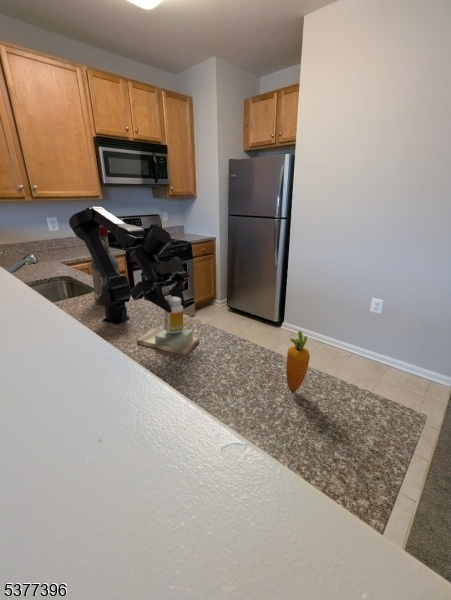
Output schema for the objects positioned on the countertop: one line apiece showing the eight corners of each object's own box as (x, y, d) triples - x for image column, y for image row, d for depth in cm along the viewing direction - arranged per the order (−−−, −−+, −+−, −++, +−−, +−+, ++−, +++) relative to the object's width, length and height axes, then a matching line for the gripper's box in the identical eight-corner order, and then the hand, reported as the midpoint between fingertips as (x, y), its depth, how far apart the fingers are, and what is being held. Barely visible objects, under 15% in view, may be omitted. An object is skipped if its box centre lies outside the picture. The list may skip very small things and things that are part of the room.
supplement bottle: (186, 328, 82) (187, 297, 79) (176, 335, 78) (176, 303, 74) (171, 324, 84) (171, 294, 81) (160, 331, 80) (160, 299, 76)
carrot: (299, 402, 60) (310, 341, 56) (278, 393, 63) (286, 334, 58) (306, 390, 64) (316, 332, 60) (285, 382, 67) (294, 326, 62)
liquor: (98, 298, 116) (91, 225, 106) (121, 298, 118) (116, 226, 108) (94, 306, 107) (86, 227, 98) (119, 305, 110) (113, 228, 100)
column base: (137, 343, 81) (136, 332, 80) (154, 331, 89) (154, 321, 88) (185, 355, 76) (185, 343, 75) (199, 341, 85) (199, 331, 83)
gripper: (135, 251, 68) (168, 303, 66) (186, 245, 83) (213, 287, 81) (117, 276, 74) (146, 324, 72) (167, 266, 89) (192, 306, 87)
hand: (177, 309), depth 78 cm, fingers closed on supplement bottle, 5 cm apart
